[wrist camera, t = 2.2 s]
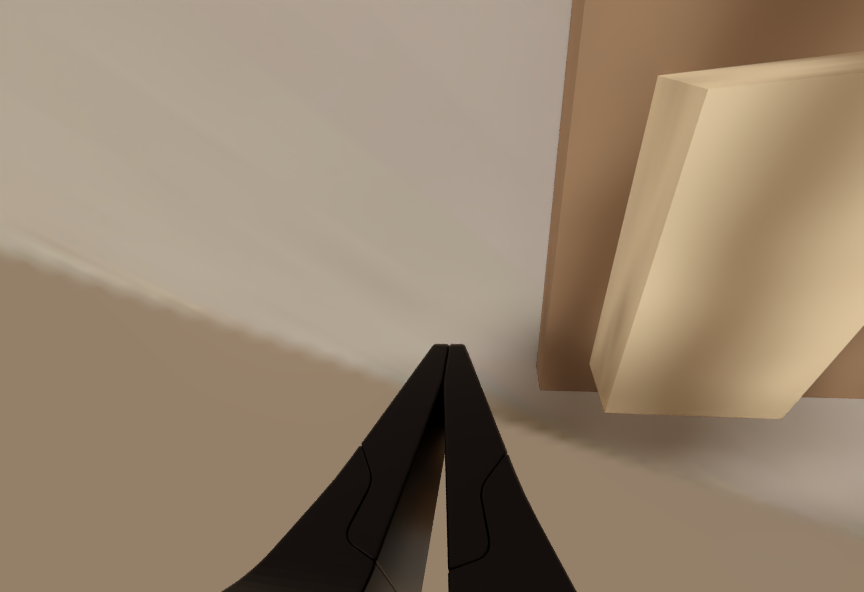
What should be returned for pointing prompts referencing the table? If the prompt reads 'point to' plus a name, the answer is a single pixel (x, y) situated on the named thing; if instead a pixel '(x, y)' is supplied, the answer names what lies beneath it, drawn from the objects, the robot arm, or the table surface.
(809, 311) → the maple plate
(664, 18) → the board
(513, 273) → the table surface
